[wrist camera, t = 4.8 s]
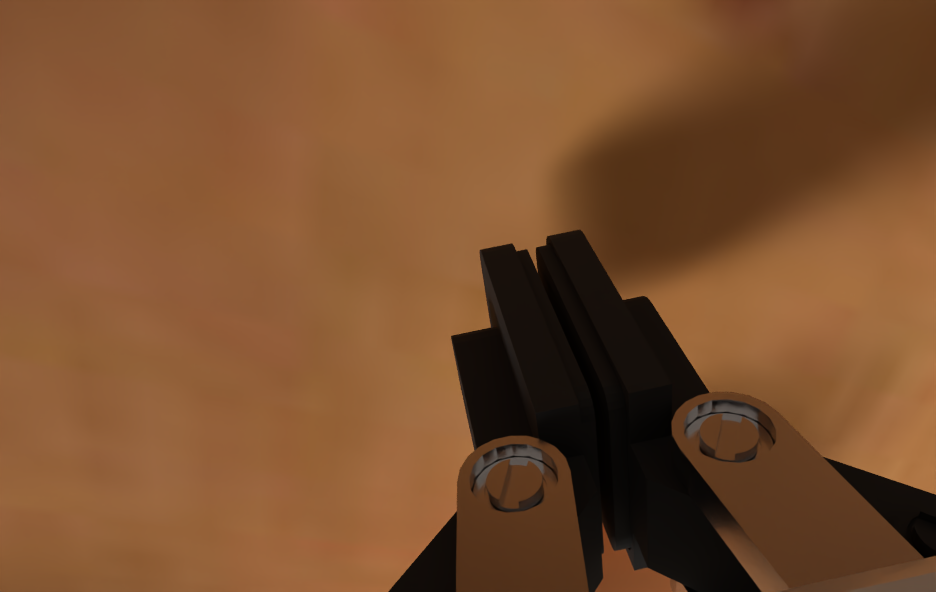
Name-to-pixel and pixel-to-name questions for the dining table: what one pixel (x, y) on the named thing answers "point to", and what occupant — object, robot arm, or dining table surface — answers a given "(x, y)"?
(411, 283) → the dining table surface
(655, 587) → the ball
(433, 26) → the dining table surface
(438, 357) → the dining table surface
